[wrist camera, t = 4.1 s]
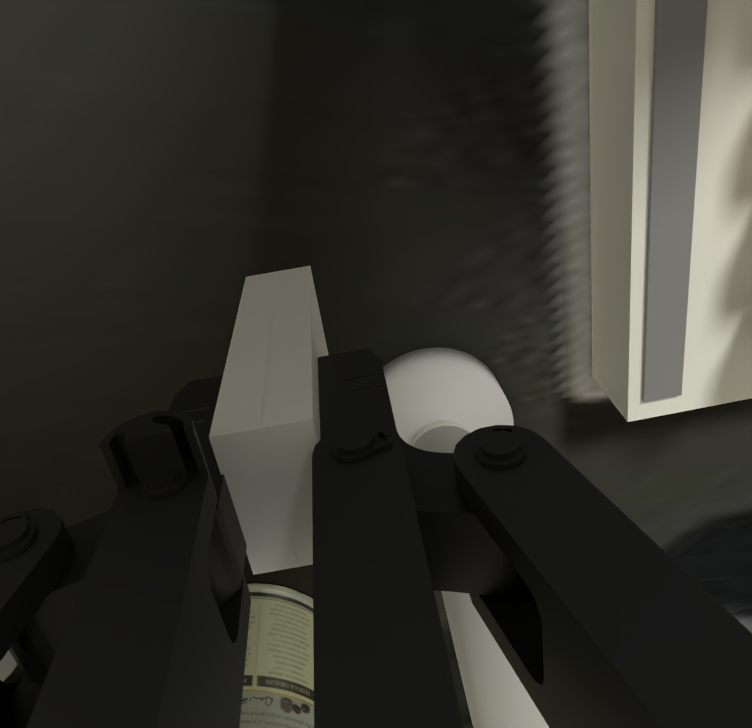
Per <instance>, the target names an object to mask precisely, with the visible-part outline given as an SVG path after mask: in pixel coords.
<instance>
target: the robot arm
mask: <svg viewBox="0 0 752 728" xmlns="http://www.w3.org/2000/svg"><path fill="white" fill-rule="evenodd" d="M100 447H101V449H102V452H103V454H104V456H105V459H106V461H107V463H108V466H109V468H110V470H111V473H112V475H113V478H114V480H115V482H116V485H117V487H118V489H119V492H118V494H117V497H116V500H115V502H114V505H113V507H112V509H111V510H109V511H107V512H104V513H102V514H100V515H98V516H95V517H93V518H90V519H87V520H85V521H82V522H80V523H77V524H74V525H72V526H69V527H67V528H65V526H64V524H63V522H62V520H61V518H60V517H59V516H58V515H57V514H56V513H55V512H54V511H51V510H45V509H33V510H27V511H21V512H18V513H14V514H12V515H9V516H6V517H4V518H1V519H0V661H1V660H2V659H3V657H4V656H5V654H6V653H7V652H8V650H9V651H10V653H11V655H12V656H13V658H14V659H15V661H16V663H17V666H16V667H15V669H14V670H13V672H12V673H11V674H10V675H9V676H8V677H7V678H6V679H5V680H4V681H3V682H2V681H1V680H0V728H239V726H240V715H241V704H242V693H243V682H244V671H245V660H246V649H247V638H248V627H249V616H250V605H251V598H250V592H249V588H248V585H247V582H246V579H245V576H244V566H245V557H246V553H247V557H248V560H249V563H250V566H251V569H252V572H253V575H256V574H261V573H267V572H273V571H278V570H284V569H289V568H295V567H301V566H306V565H312V564H313V644H314V728H463V724H462V719H461V715H460V710H459V706H458V701H457V696H456V692H455V687H454V683H453V678H452V673H451V669H450V664H449V660H448V655H447V651H446V646H445V641H444V637H443V632H442V628H441V623H440V618H439V614H438V609H437V605H436V600H435V595H434V591H433V590H439V591H449V592H459V593H469V595H470V598H471V601H472V604H473V605H474V607H475V609H476V610H477V612H478V613H479V615H480V617H481V618H482V620H483V622H484V623H485V625H486V626H487V628H488V630H489V631H490V633H491V634H492V636H493V638H494V639H495V641H496V642H497V644H498V646H499V647H500V649H501V651H502V652H503V654H504V655H505V657H506V659H507V660H508V662H509V663H510V665H511V667H512V668H513V670H514V672H515V673H516V675H517V676H518V678H519V680H520V681H521V683H522V684H523V686H524V688H525V689H526V691H527V692H528V694H529V696H530V697H531V699H532V701H533V702H534V704H535V705H536V707H537V709H538V710H539V712H540V713H541V715H542V717H543V718H544V720H545V722H546V723H547V725H548V726H549V728H752V633H751V632H749V631H748V630H747V629H746V628H745V627H744V626H743V625H742V624H741V623H740V622H739V621H738V620H737V619H736V618H735V617H734V616H732V615H731V614H730V613H729V612H728V611H727V610H726V609H725V608H724V607H723V606H722V605H721V604H720V603H719V602H718V601H716V600H715V599H714V598H713V597H712V596H711V595H710V594H709V593H708V592H707V591H706V590H705V589H704V588H703V587H702V586H701V585H699V584H698V583H697V582H696V581H695V580H694V579H693V578H692V577H691V576H690V575H689V574H688V573H687V572H686V571H685V570H684V569H682V568H681V567H680V566H679V565H678V564H677V563H676V562H675V561H674V560H673V559H672V558H671V557H670V556H669V555H668V554H666V553H665V552H664V551H663V550H662V549H661V548H660V547H659V546H658V545H657V544H656V543H655V542H654V541H653V540H652V539H651V538H649V537H648V536H647V535H646V534H645V533H644V532H643V531H642V530H641V529H640V528H639V527H638V526H637V525H636V524H635V523H634V522H632V521H631V520H630V519H629V518H628V517H627V516H626V515H625V514H624V513H623V512H622V511H621V510H620V509H619V508H618V507H616V506H615V505H614V504H613V503H612V502H611V501H610V500H609V499H608V498H607V497H606V496H605V495H604V494H603V493H602V492H601V491H599V490H598V489H597V488H596V487H595V486H594V485H593V484H592V483H591V482H590V481H589V480H588V479H587V478H586V477H585V476H584V475H582V474H581V473H580V472H579V471H578V470H577V469H576V468H575V467H574V466H573V465H572V464H571V463H570V462H569V461H568V460H566V459H565V458H564V457H563V456H562V455H561V454H560V453H559V452H558V451H557V450H556V449H555V448H554V447H553V446H552V445H551V444H549V443H548V442H547V441H546V440H545V439H544V438H543V437H541V436H540V435H538V434H537V433H535V432H533V431H532V430H530V429H526V428H522V427H518V426H515V425H494V426H489V427H484V428H479V429H477V430H475V431H473V432H471V433H469V434H467V435H465V436H464V437H463V438H462V439H461V440H460V441H459V442H458V443H457V444H456V445H455V449H454V453H439V452H430V451H425V450H421V449H418V448H415V447H413V446H411V445H409V444H408V443H406V442H405V441H404V440H403V439H402V438H401V437H400V436H399V434H398V432H397V429H396V425H395V420H394V416H393V411H392V406H391V402H390V397H389V393H388V388H387V384H386V379H385V375H384V370H383V365H382V361H381V358H379V357H378V356H377V355H376V354H374V353H373V352H372V351H371V350H369V349H362V350H356V351H350V352H345V353H339V354H333V355H328V350H327V345H326V341H325V336H324V331H323V326H322V321H321V316H320V311H319V306H318V302H317V297H316V292H315V287H314V282H313V277H312V272H311V267H310V266H305V267H300V268H294V269H288V270H282V271H276V272H271V273H265V274H259V275H253V276H247V277H246V278H245V283H244V287H243V291H242V296H241V300H240V304H239V309H238V313H237V317H236V322H235V326H234V330H233V335H232V339H231V343H230V348H229V352H228V356H227V361H226V365H225V369H224V374H223V376H218V377H212V378H207V379H201V380H195V381H190V382H188V383H187V384H186V385H185V386H184V388H183V389H182V390H181V391H180V392H179V393H178V394H177V395H176V396H175V397H174V399H173V402H172V405H171V407H170V410H169V411H157V412H152V413H149V414H145V415H141V416H138V417H136V418H134V419H131V420H129V421H127V422H125V423H123V424H121V425H120V426H118V427H117V428H115V429H114V430H113V431H111V432H110V433H109V434H108V435H107V436H106V437H105V438H104V440H103V441H102V442H101V444H100Z"/></svg>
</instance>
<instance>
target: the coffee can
mask: <svg viewBox="0 0 752 728" xmlns="http://www.w3.org/2000/svg"><path fill="white" fill-rule="evenodd" d="M247 585H248V588H249V592H250V598H251V605H250V616H249V627H248V638H247V649H246V660H245V671H244V682H243V693H242V704H241V715H240V726H239V728H314V644H313V599H312V598H311V597H309V596H307V595H305V594H302V593H300V592H298V591H296V590H293V589H290V588H287V587H283V586H278V585H272V584H260V583H250V584H247Z"/></svg>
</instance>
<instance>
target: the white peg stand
mask: <svg viewBox="0 0 752 728" xmlns="http://www.w3.org/2000/svg"><path fill="white" fill-rule="evenodd" d="M383 370H384V375H385V379H386V384H387V388H388V393H389V397H390V402H391V406H392V411H393V416H394V420H395V425H396V429H397V432H398V434H399V436H400V437H401V438H402V439H403V440H404V441H405V442H406V443H408V444H409V445H411V446H413V447H415V448H418V449H421V450H425V451H430V452H439V453H454V449H455V445H456V444H457V443H458V442H459V441H460V440H461V439H462V438H463V437H464V436H465V435H467V434H469V433H471V432H473V431H475V430H477V429H479V428H484V427H489V426H494V425H514V424H513V415H512V410H511V408H510V405H509V402H508V401H507V399H506V397H505V395H504V393H503V391H502V389H501V387H500V385H499V383H498V381H497V380H496V378H495V376H494V375H493V373H492V372H491V371H490V369H489V368H488V367H487V366H486V365H485V364H484V363H483V362H481V361H480V360H478V359H477V358H475V357H474V356H472V355H470V354H468V353H466V352H463V351H459V350H456V349H451V348H442V347H433V348H424V349H418V350H415V351H411V352H408V353H406V354H403V355H401V356H399V357H397V358H395V359H394V360H392V361H390V362H389V363H388V364H386V365H385V366H384V367H383ZM441 592H442V596H443V601H444V605H445V609H446V613H447V618H448V622H449V626H450V630H451V635H452V639H453V643H454V647H455V652H456V656H457V660H458V664H459V669H460V673H461V677H462V681H463V686H464V690H465V694H466V698H467V703H468V707H469V711H470V715H471V720H472V724H473V728H549V726H548V725H547V723H546V722H545V720H544V718H543V717H542V715H541V713H540V712H539V710H538V709H537V707H536V705H535V704H534V702H533V701H532V699H531V697H530V696H529V694H528V692H527V691H526V689H525V688H524V686H523V684H522V683H521V681H520V680H519V678H518V676H517V675H516V673H515V672H514V670H513V668H512V667H511V665H510V663H509V662H508V660H507V659H506V657H505V655H504V654H503V652H502V651H501V649H500V647H499V646H498V644H497V642H496V641H495V639H494V638H493V636H492V634H491V633H490V631H489V630H488V628H487V626H486V625H485V623H484V622H483V620H482V618H481V617H480V615H479V613H478V612H477V610H476V609H475V607H474V605H473V604H472V601H471V598H470V595H469V593H459V592H449V591H441Z"/></svg>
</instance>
